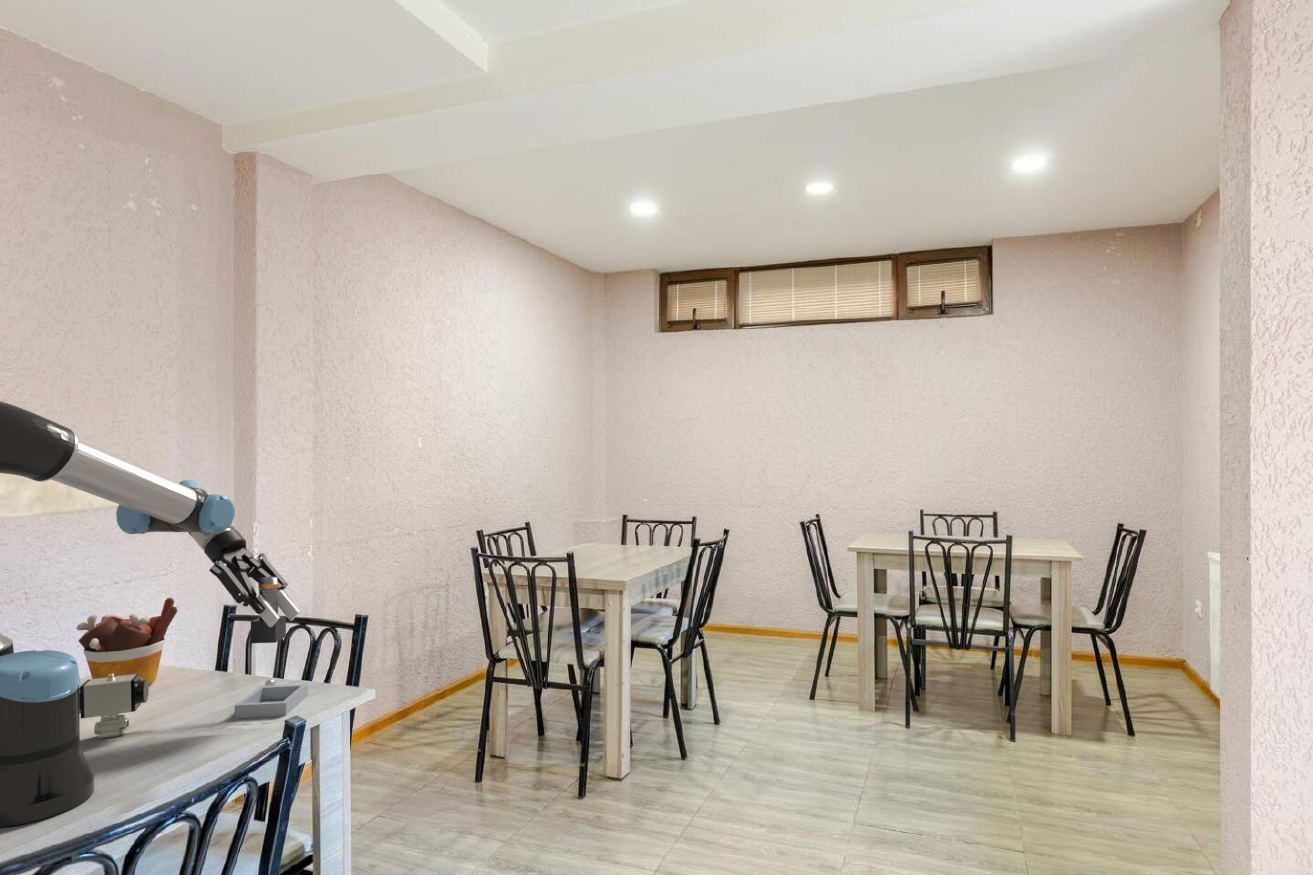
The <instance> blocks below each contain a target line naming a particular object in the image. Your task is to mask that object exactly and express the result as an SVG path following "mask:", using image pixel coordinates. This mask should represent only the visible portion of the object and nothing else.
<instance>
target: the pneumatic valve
mask: <svg viewBox="0 0 1313 875" xmlns="http://www.w3.org/2000/svg"><path fill="white" fill-rule="evenodd" d="M149 686H150V685H149ZM149 686H148V681H147V680H142V678H140V674H133V675H124V676H116V677H114V674H108V677H107V678H99V679H92V678H91V679H86V680H85V681H84V682H83V683H82V684H81V685H79V715H80V720H81V719H88V718H89V719H90V718H97V717H100V721H96V722H95V724H94V727H93V728H94V729H93V733H94V735H95V736H97V739H100V740H101V739H103V740H104V739H108V738H115V737H120V736H122V735H123V732H124V730H125V729H126V728H128V727H129V726H130V719H129V717H126V715H125V714H126V713H134V712H136V711H137V710H138V709H139V707H140V706H141V704H145V703H147V701H148V700H149V699H148V698H149V692H150V690H149V688H150V687H149Z"/></svg>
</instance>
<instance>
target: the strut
mask: <svg viewBox="0 0 1313 875" xmlns="http://www.w3.org/2000/svg"><path fill="white" fill-rule="evenodd" d="M257 584H258V585H257V588H258V595H262V596H263V598H264V599H265V600H266V601H267V603H268V604H269V605H270V606H271V607H272V609H273V610H274V611H275V612H276V614H277V615H278V616H279V617H280V618H279V620H278V621H277V622H276V623H275V624H274V625H273V626H272V627H269V626H268V625H267V624H266V622H265V621H264V620H263V619H262V618H261V616H260V615H259V614H258V618H255V619H253V620H251V621H250V644H273V643H274V644H275V643H278V642H279V641H281V640H282V639H284V638H286V637H287V625H286V624H287V616H286V615H279V607H278V577H263V578H259V583H258V582H257Z"/></svg>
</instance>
